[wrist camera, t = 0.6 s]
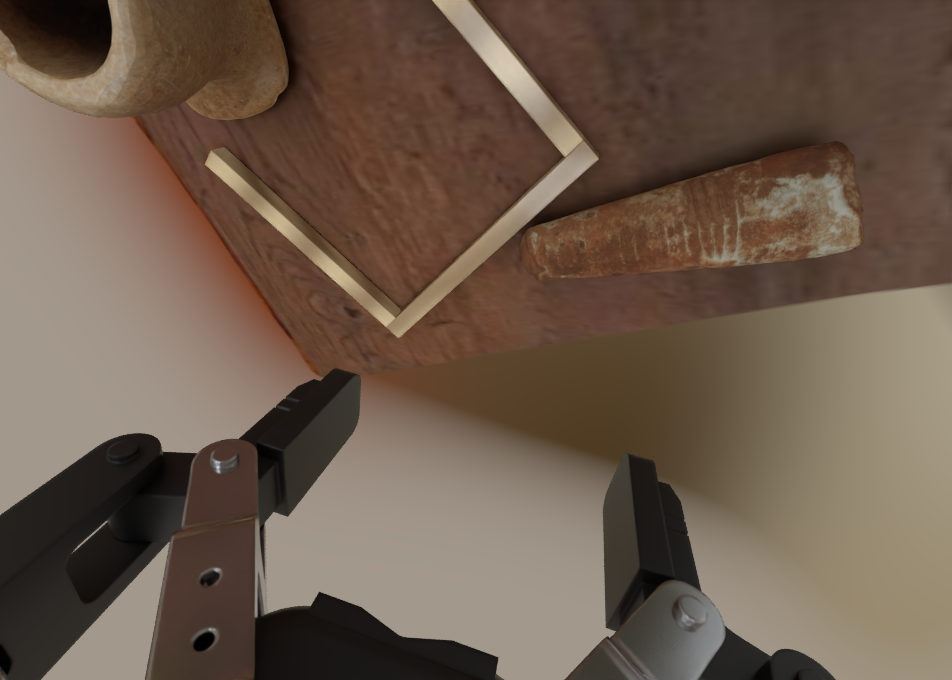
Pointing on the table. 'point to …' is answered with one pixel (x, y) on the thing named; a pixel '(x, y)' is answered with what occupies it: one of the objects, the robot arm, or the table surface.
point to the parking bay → (576, 160)
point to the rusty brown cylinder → (711, 220)
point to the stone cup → (146, 55)
